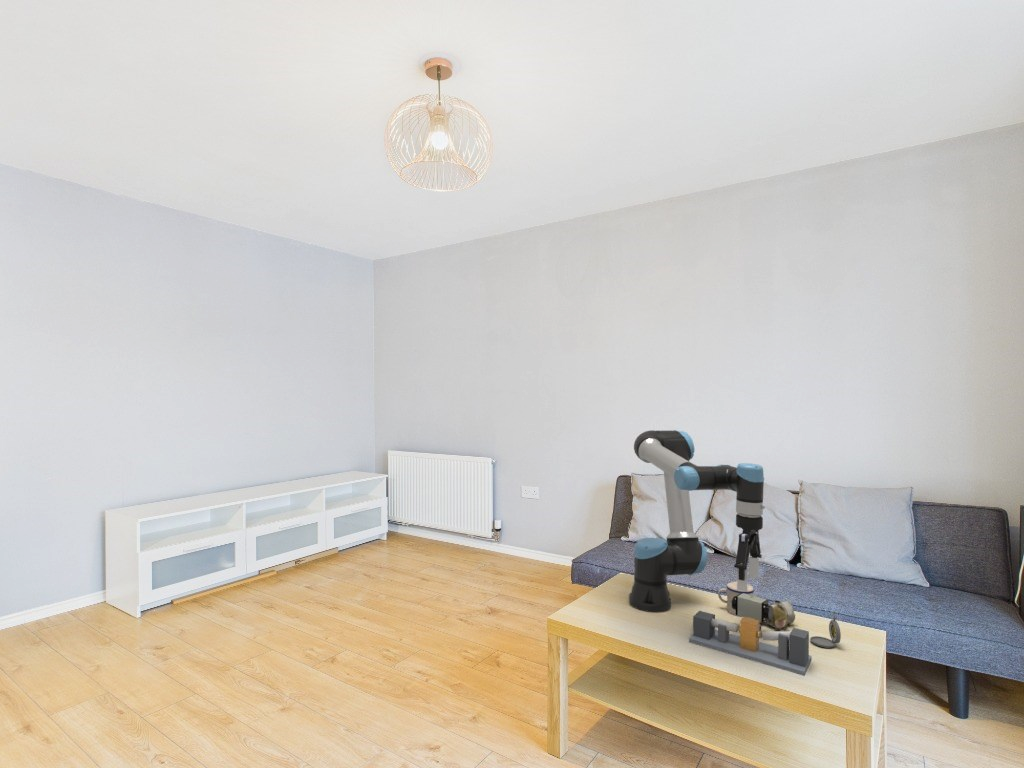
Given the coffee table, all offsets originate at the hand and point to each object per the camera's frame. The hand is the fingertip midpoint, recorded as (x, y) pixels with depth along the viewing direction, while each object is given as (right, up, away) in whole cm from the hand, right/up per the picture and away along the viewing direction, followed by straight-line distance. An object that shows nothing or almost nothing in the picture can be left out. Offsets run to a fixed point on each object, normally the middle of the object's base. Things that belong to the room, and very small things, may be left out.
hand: (748, 584), depth 164 cm
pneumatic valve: (+7, -20, +12) cm, 25 cm away
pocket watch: (+26, -20, +3) cm, 33 cm away
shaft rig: (0, -19, -2) cm, 19 cm away
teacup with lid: (+8, -21, +29) cm, 36 cm away
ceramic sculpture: (+17, -21, +17) cm, 32 cm away
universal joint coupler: (0, -18, -2) cm, 18 cm away
